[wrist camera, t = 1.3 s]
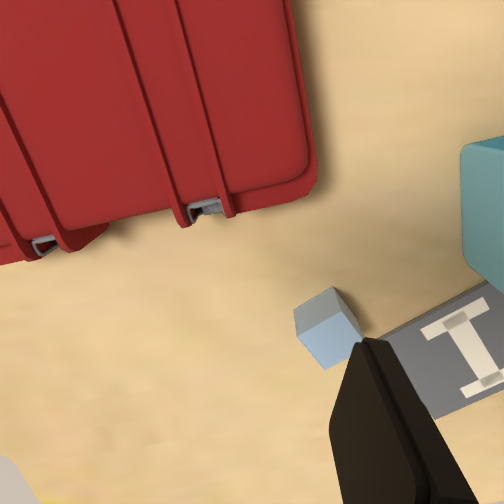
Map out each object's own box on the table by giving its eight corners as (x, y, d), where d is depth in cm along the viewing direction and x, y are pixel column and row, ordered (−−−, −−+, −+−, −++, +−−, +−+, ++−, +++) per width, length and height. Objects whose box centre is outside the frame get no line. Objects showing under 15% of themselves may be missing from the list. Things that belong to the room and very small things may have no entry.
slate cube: (332, 285, 38) (341, 310, 34) (356, 318, 40) (368, 347, 35) (293, 309, 40) (296, 336, 35) (318, 340, 41) (324, 370, 36)
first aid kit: (15, 247, 38) (-51, 285, 30) (-117, -7, 30) (-257, -47, 22) (313, 180, 34) (327, 203, 26) (258, -136, 26) (254, -241, 18)
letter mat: (518, 263, 36) (521, 266, 36) (565, 356, 40) (570, 359, 40) (376, 338, 41) (378, 342, 40) (432, 415, 45) (435, 419, 44)
